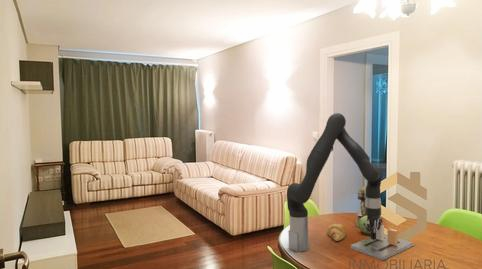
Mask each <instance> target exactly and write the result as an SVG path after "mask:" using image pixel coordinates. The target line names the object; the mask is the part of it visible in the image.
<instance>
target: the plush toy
mask: <svg viewBox="0 0 482 269" xmlns="http://www.w3.org/2000/svg"><path fill="white" fill-rule="evenodd" d="M357 191H358V192H357V193H356V194H357V199H358V200H360V204H359V205H360V206H359V210H357V213H356V215H357V218H356V221H355V224H354V225H355V227H357V228H359V221H360V219H361V218H362V217H364V216H367V215H366V214H365V199H366V186H361V187H360V188H359V189H358V190H357Z"/></svg>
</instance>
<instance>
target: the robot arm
mask: <svg viewBox="0 0 482 269" xmlns="http://www.w3.org/2000/svg"><path fill="white" fill-rule="evenodd" d="M346 121H347V120H346V118H345V116H344V114H341V113H338V112H337V113H334V114H331V115H330V116H329V117H328V119H327V120H326V125H325V127H324V129H323V132H322V134H321V136H320V137H319V139H318V140H317V141H316V143H315V144H314V146H313V148H312V149H311V151H310V153H309V154H308V156H307V160H306V166H305V168H306V169H305V173H304V177H303V178H302V181H301V183H296V182H293V183H290V184H289V185H288V186H287V189H286V203H287V210H288V212H289V214H288V215H289V230H288V249H289V250H291V249H292V251H294V252H296V253H299V252H306V251H308V250H309V244H310V242H309V215H308V214H309V212H308V208H306V206H305V204H307V202H308V201H309V200H310V198H311V196H312V194H313V192H314V188H315V186H316V183H317V181H318V179H319V177H320V175H321V172H322V170H323V169H324V167H325V165H326V163H327V161H328V160H329V157H330V155H331V153H332V150H333V148H334V145H335V143H336V140H337V141H338V142H339V143H340V144H341V145H342V147H344V149H345V151H346V152H347V153H348V154H349V155H350V157H351V158H352V159H353V161H354V163H355V164H356V165H357V167H358V169H359V171H360V173H361V175H362V176H363V178H364V179H365V180H366V182H367V184H366V185H365V187H366V199H365V214H366V215H367V223H364V226H365V227H366V229H367V231H369V232H371V234H370V237H371V239H372V240H375V239H376V232H377V230H379V229H380V226H381V225H382V223H383V219H382V218H380V217H381V216H382V201H381V184H382V171H381V168H380V167H378V166H376V165H373V164H372V163H371V161H370V160H371V158H370V156H369V155H368V154H367V152H366V151H365V150H364V149H363V148H362V146H361V145H360V144H359V143H358V142H357V141H355V140H354V138H352V137H351V136H350V135H349V134H348V132H347V130H346V128H345V127H346Z"/></svg>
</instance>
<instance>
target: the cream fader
mask: <svg viewBox="0 0 482 269" xmlns="http://www.w3.org/2000/svg"><path fill="white" fill-rule="evenodd" d="M384 234H385V225H382V224H381V226H380V229H379V230H377V232H376V239H379V240H383V239H384Z"/></svg>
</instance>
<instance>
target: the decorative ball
mask: <svg viewBox="0 0 482 269" xmlns="http://www.w3.org/2000/svg"><path fill="white" fill-rule="evenodd" d="M364 223H367V216H364V217H362V218H361V219H360V221H359V227H358V228H359V230H361V232H362V233H364V234H368V235H371V232H369V231H367V229H366V227H365V226H364Z"/></svg>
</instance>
